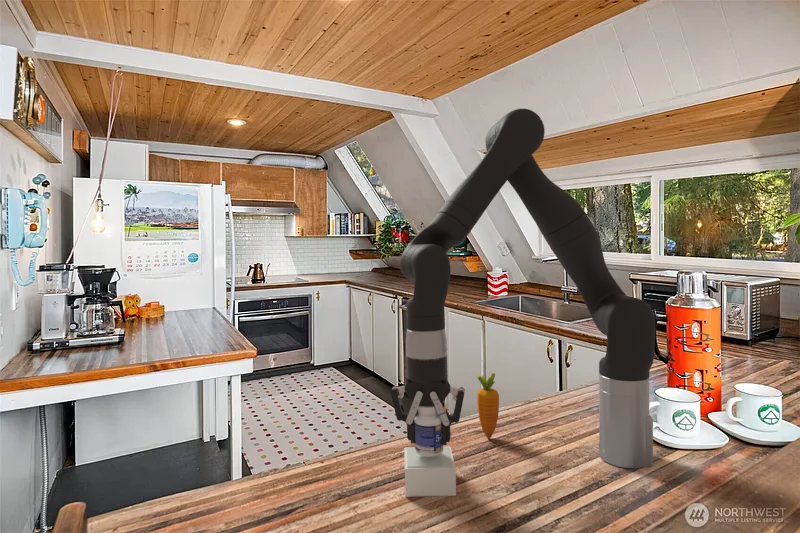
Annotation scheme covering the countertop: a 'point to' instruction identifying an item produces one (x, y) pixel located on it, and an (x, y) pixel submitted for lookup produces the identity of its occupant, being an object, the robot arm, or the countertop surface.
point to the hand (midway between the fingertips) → (428, 442)
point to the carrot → (488, 405)
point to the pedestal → (429, 474)
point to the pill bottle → (428, 432)
